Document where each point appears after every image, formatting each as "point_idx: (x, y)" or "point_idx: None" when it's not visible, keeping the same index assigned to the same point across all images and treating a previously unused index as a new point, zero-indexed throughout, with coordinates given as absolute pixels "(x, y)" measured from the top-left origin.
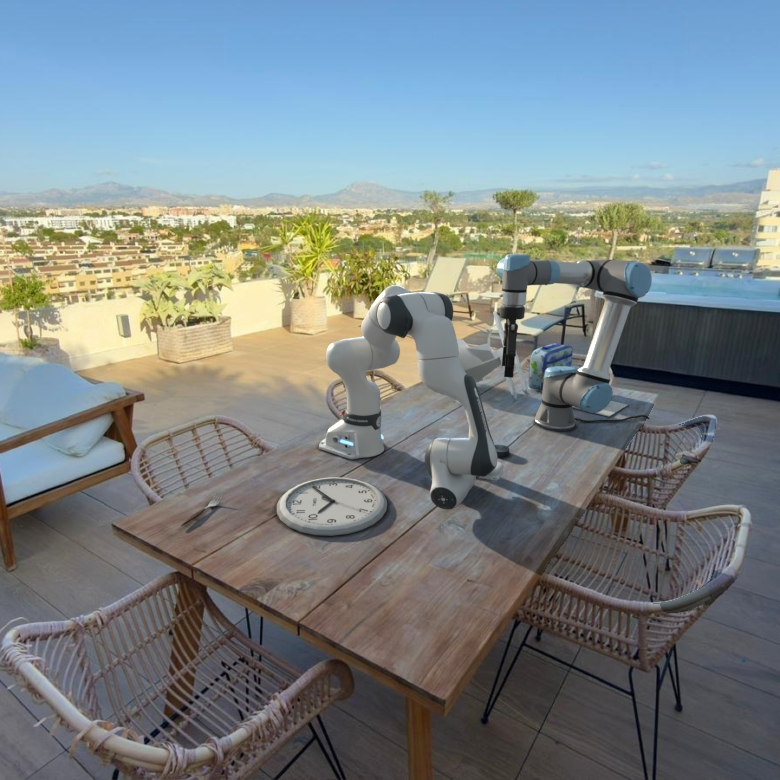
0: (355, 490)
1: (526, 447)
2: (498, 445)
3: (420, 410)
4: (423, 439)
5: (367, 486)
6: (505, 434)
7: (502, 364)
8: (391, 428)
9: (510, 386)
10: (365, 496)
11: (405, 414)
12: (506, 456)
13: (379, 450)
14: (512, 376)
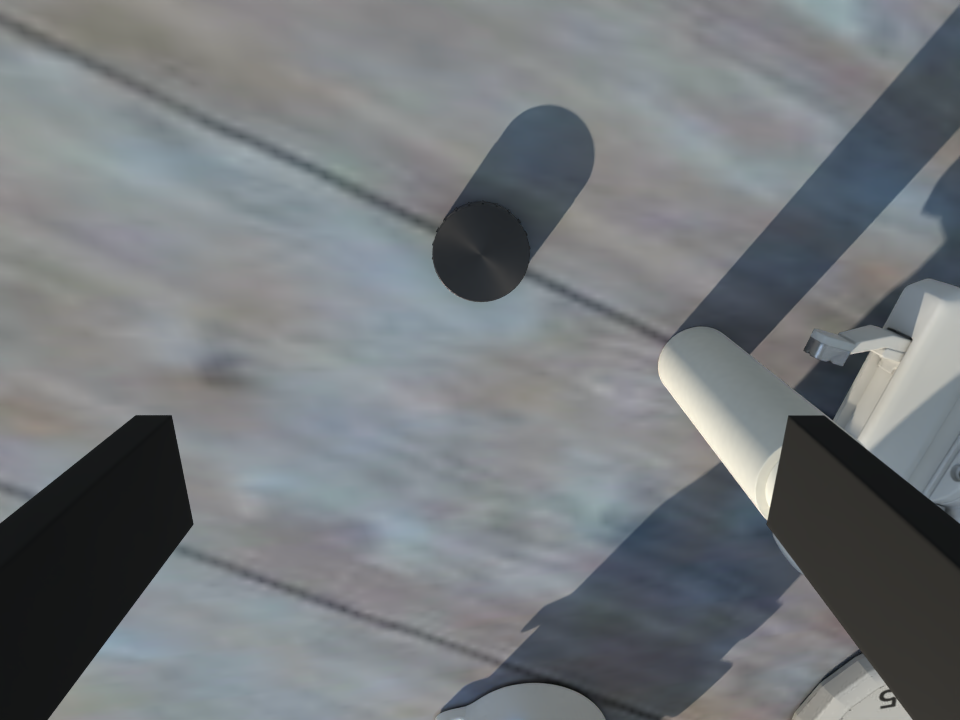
0: (878, 716)
1: (361, 93)
2: (445, 260)
3: None
4: (388, 568)
5: (864, 695)
6: (203, 202)
7: (179, 533)
8: (303, 684)
9: None
10: None
11: (115, 656)
12: (514, 216)
13: (569, 701)
14: (830, 430)
